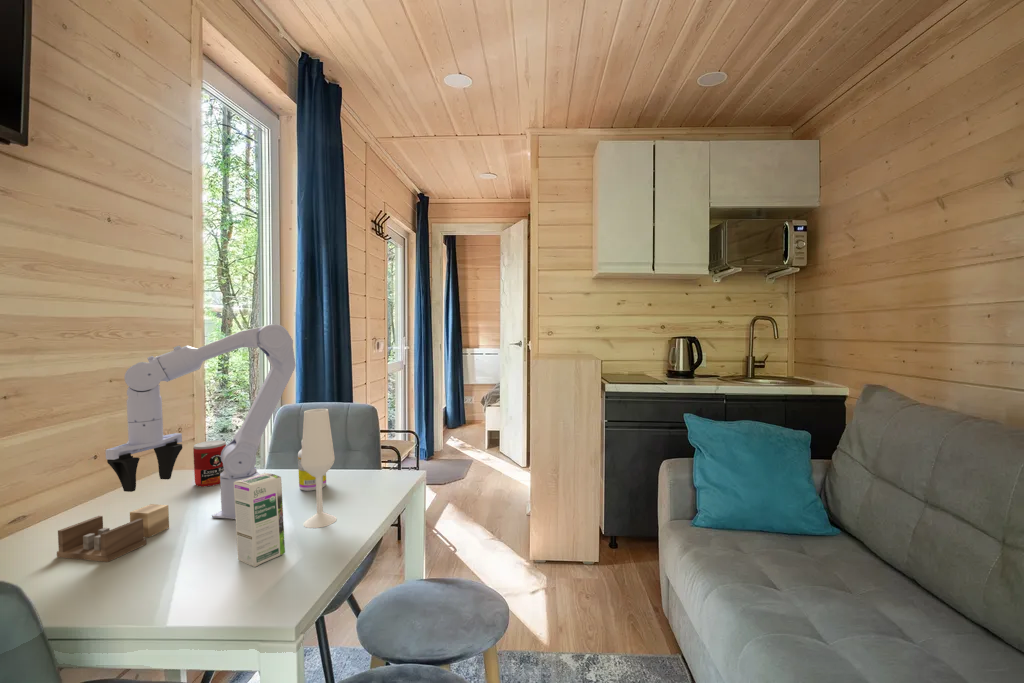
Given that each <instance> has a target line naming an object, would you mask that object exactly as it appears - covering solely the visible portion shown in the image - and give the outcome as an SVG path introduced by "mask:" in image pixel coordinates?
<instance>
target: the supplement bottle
mask: <svg viewBox="0 0 1024 683" xmlns="http://www.w3.org/2000/svg"><path fill="white" fill-rule="evenodd" d="M300 445H301V446H302V439H301V444H300ZM301 454H302V448H301V449H300V450H299V451H298V453H297V464H298V465H297V467H298V470H297V471H298V487H299V489H300V490H301V491H306V492H310V491H316V477H314V476H312V475H310V474H309V473H308V472H306V471H305V470H304V469H303V467H302V466H301ZM326 485H327V472H326V473H325V474H324V475H323V476H322V489H323V488H324V487H325V486H326Z"/></svg>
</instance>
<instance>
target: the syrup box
mask: <svg viewBox="0 0 1024 683" xmlns="http://www.w3.org/2000/svg"><path fill="white" fill-rule="evenodd" d="M260 474H261V475H257V476H254V477H250V478H246V479H243V480H238V481H235V482H234V499H235V516H236V519H235V529H236V532H235V533H236V549H237V552H236V554H237V560H239V561H240V562H242V563H244V564H246V565H249V566H251V567H253V568H256V567H258V566H259V565H262V564H264V563H266V562H268V561H271V560H273V559H275V558H278V557H279V556H282V555H285V553H286V546H285V544H286V543H285V526H284V507H283V490H282V488H283V486H282V484H283V483H282V476H280V475H277V474H273V473H270V472H269V473H266V472H263V473H260Z"/></svg>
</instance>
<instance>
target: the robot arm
mask: <svg viewBox="0 0 1024 683" xmlns="http://www.w3.org/2000/svg"><path fill="white" fill-rule="evenodd" d="M240 348H254V349H257V348H259V349H260V351H261V352H263V353H264V355H265V356H266V358H267V361H268V362H269V365H270V369H269V371H268V373H267V375H266V377H265V379H264V381H263V383H262V385H261V387H260V389H259V391H258V393H257V394H256V396H255V399H254V400H253V402H252V405H251V406H250V408H249V410H248V413H247V415H246V417H245V418H244V420H243V422H242V424H241V426H240V428H239V429H238V430H237V432H236V433H235V434H234V436H233V439H232V440H231V441H230V442H229V443H227V444H226V446H225V447H224V449H223V450H222V452H221V461H222V463H223V467H224V471H223V472H222V473H221V474H220V484H219V485H220V503H221V506H220V507H221V508H220V509H221V510H220V511H218V512H216V513H214V514H212V515H211V518H214V519H215V518H217V519H230V520H236V516H235V499H234V482H235V481H238V480H243V479H246V478H250V477H254V476H257V475H261V474H262V473H259V472H258V471H257V467H256V463H257V453H258V449H259V448H260V445H261V439H262V436H263V434H264V432H265V430H266V429H267V426H268V424H269V422H270V420H271V419H272V418H271V417H272V416H273V414H274V412H275V410H276V408H277V405H278V404H279V401H280V399H281V398H282V395H283V393H284V391H285V389H286V388H287V385H288V383H289V381H290V380H291V377H292V375H293V373H294V372H295V369H296V359H295V358H296V357H295V352H294V340H293V338H292V336H291V335H290V333H289V331H288V330H287V329H286V328H285V327H284V326H283V325H282V324H281V325H280V324H277V323H271V324H265V325H262V326H259V327H254V328H249V329H244V330H240V331H237V332H235V333H233V334H230V335H228V336H225V337H222V338H220V339H218V340H214V341H212V342H210V343H207V344H204V345H202V346H200V347H198V348H196V347H193V346H190V345H185V346H181V345H177V346H175V347H173V350H171V351H169V352H165V353H162V354H159V355H157V356H155V357H154V356H153V355H151V356H148V357H147V360H148V362H147V361H146V362H145V361H139V362H137V363H135V364H133V365H132V366H130V367H129V368H127V370H126V372H125V373H124V381H125V384H126V385H127V390H126V396H127V399H126V415H127V416H126V417H127V420H126V421H127V435H128V436H127V437H128V439H127V441H126V443H123V444H120V445H117V446H113V447H111V448H107V449H105V460H107V461H106V463H107V465H109V466H110V467H111V469H112V470H113V471H114V472H115V474H116V476H117V477H118V479H119V482H120V484H121V487H122V490H123V492H128V493H132V492H135V491H136V489H137V470H138V466H139V461H140V459H141V458H140V457H137V456H136V457H134V456H133V455H134V454H138V453H142V452H146V451H150V450H153V451H154V453H155V456H156V459H157V465H158V477H159V479H160V480H167V481H168V480H170V479H171V477H172V474H173V471H174V470H173V469H174V467H175V463H176V461H177V458H178V457H179V455H180V453H181V452H182V450H183V444H182V442H183V436H182V435H183V433H182V432H181V433H179V432H175V433H170V434H165V435H164V422H163V421H164V418H163V401H162V400H163V398H162V396H161V391H160V390H161V388H160V387H161V386H160V383H161V382H167V383H168V382H171V381H173V380H176V379H178V378H181V377H183V376H185V375H188V374H191V373H194V372H196V371H198V370H200V369H201V368H202V366H203V363H204V362H205V361H208V360H211V359H213V358H216V357H219V356H221V355H223V354H226V353H229V352H232V351H236V350H238V349H240Z"/></svg>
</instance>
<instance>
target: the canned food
mask: <svg viewBox="0 0 1024 683" xmlns="http://www.w3.org/2000/svg"><path fill="white" fill-rule="evenodd" d="M226 445H227V442H226V440H222V439H221V440H220V439H218V440H208V441H202V442H198V443H196V444H193V449H192V450H193V470H194V471H193V472H194V474H193V476H194V483H195V486H196V487H199V486H201V487H200V488H203V487H204V486H207V487H212V486H213V485H214V486H216V485H221V484H220V474H221V473H222V472H223V471H224V467H223V463H222V461H221V452H222V450H223V449H224V447H225V446H226ZM204 488H205V487H204Z"/></svg>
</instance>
